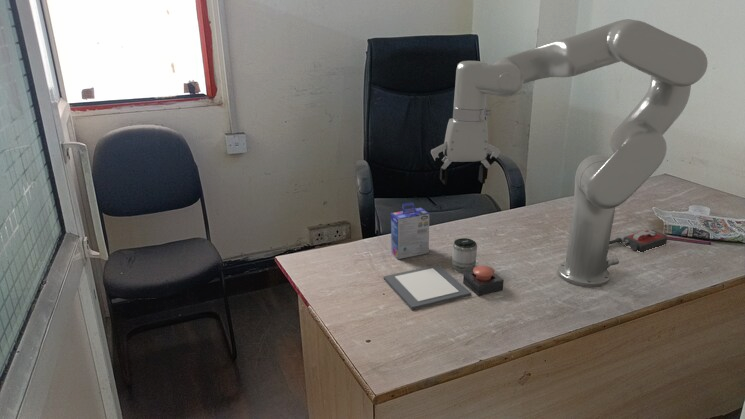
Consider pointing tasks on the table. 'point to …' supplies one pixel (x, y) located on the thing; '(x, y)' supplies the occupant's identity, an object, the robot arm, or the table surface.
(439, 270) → the desk mat
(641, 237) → the walkie-talkie
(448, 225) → the table surface
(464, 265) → the camera lens
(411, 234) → the ink cartridge box
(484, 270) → the button
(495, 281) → the button housing
